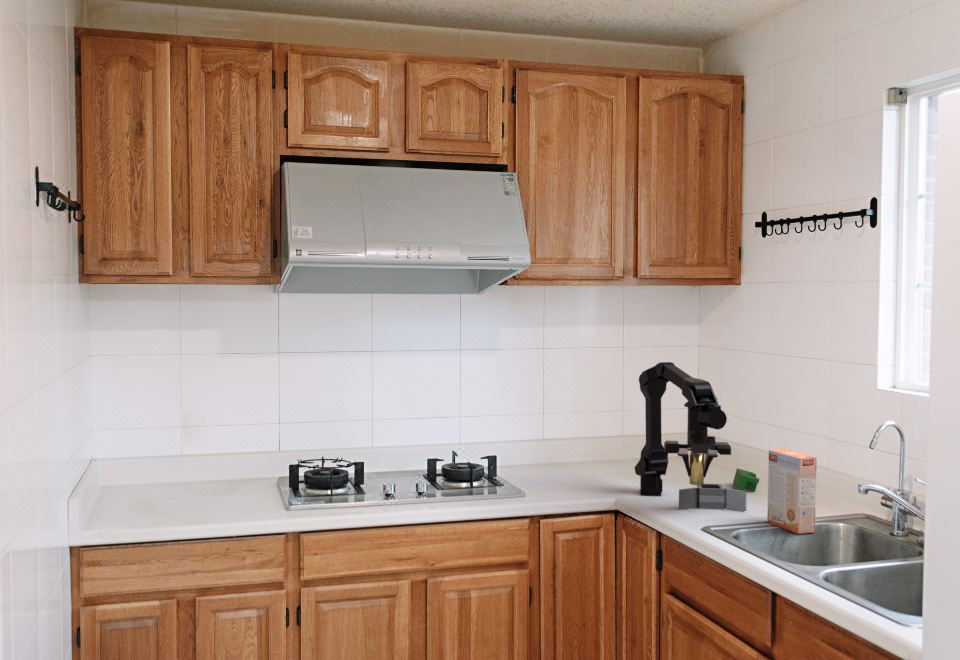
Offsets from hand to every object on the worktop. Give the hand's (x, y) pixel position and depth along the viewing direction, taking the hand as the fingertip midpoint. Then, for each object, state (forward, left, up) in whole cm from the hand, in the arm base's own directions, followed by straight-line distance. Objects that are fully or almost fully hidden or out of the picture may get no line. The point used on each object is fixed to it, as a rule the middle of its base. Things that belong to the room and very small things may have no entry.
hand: (696, 476), depth 263 cm
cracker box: (+24, -13, -11) cm, 30 cm away
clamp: (+20, +33, -11) cm, 40 cm away
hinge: (+5, +8, -11) cm, 14 cm away
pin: (0, 0, -2) cm, 2 cm away
